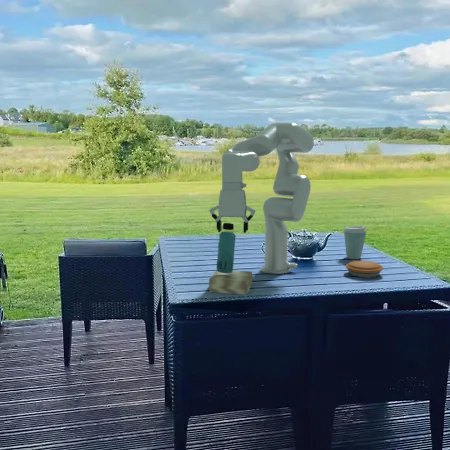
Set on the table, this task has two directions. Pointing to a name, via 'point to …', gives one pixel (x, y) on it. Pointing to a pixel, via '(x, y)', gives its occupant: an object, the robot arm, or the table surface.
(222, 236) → the beverage bottle
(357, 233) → the disposable coffee cup
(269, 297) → the table surface
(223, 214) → the robot arm
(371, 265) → the pie
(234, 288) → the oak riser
